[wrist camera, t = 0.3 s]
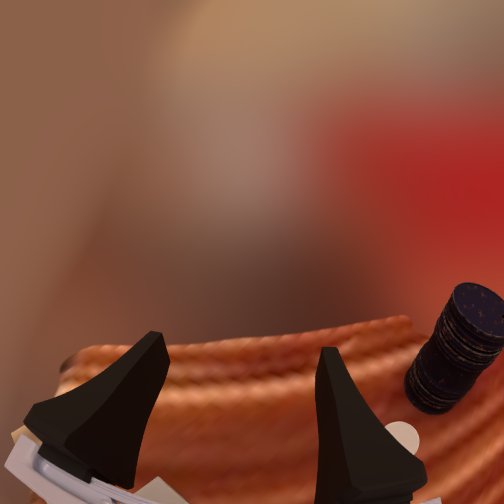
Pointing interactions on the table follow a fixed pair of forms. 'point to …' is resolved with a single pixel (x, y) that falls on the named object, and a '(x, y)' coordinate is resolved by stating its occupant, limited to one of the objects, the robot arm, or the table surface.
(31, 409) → the robot arm
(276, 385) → the table surface
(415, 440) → the supplement bottle
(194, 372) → the table surface
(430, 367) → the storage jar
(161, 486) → the white cube
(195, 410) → the table surface
